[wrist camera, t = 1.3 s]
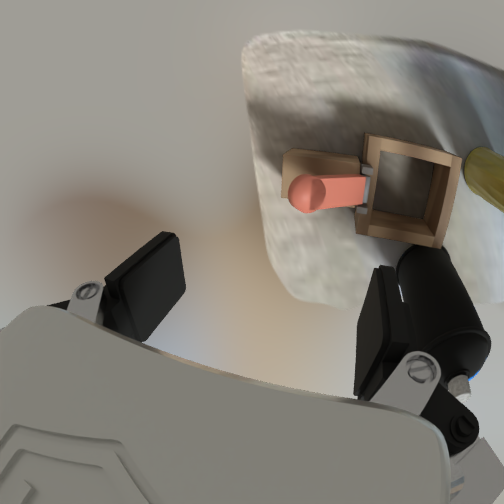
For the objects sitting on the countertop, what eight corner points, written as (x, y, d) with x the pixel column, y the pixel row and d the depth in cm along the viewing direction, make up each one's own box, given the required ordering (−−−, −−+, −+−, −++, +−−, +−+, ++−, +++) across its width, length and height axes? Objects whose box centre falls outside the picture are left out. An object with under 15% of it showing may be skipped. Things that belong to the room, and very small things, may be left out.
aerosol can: (384, 281, 33) (395, 416, 16) (415, 230, 29) (467, 358, 12) (429, 301, 32) (454, 426, 16) (460, 256, 28) (518, 376, 11)
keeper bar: (365, 172, 23) (373, 174, 22) (361, 201, 24) (368, 205, 24) (288, 174, 20) (295, 177, 19) (286, 210, 22) (292, 215, 21)
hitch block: (445, 150, 23) (468, 161, 17) (429, 230, 28) (444, 256, 22) (293, 124, 28) (280, 126, 22) (289, 206, 33) (277, 228, 27)
